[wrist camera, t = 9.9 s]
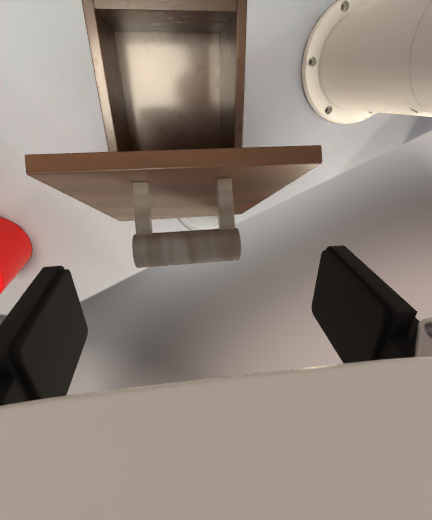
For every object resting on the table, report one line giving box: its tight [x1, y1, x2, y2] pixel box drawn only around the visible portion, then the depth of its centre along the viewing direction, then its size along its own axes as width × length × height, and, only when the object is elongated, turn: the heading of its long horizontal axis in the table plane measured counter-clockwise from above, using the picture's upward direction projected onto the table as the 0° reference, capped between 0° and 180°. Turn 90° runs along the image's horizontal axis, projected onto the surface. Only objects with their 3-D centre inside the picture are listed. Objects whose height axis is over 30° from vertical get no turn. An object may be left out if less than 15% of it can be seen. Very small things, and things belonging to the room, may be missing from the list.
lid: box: [25, 145, 322, 268], centre depth 21 cm, size 17×12×5 cm
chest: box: [82, 0, 247, 152], centre depth 30 cm, size 17×12×10 cm
